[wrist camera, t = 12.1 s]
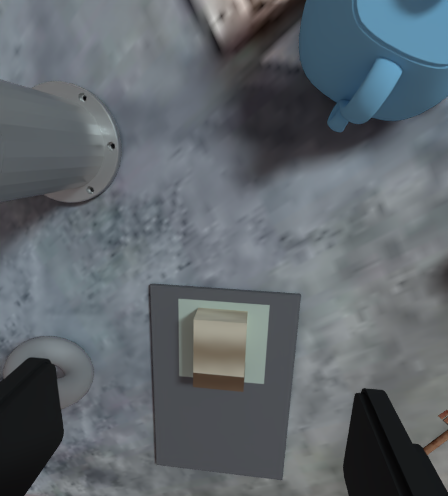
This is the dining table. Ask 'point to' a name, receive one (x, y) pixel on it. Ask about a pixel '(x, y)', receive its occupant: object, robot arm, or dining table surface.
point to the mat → (223, 401)
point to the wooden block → (219, 349)
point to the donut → (62, 356)
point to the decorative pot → (376, 57)
